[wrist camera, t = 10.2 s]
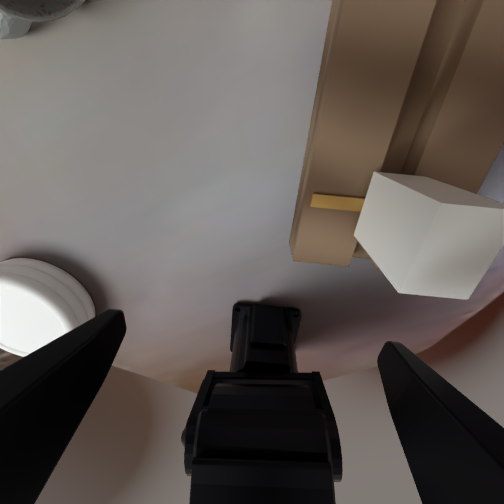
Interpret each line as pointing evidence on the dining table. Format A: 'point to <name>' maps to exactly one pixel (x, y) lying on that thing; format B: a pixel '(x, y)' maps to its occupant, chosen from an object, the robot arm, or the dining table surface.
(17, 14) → the ceramic mug
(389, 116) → the fader track
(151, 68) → the dining table surface
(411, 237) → the fader tab
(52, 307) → the white bowl
